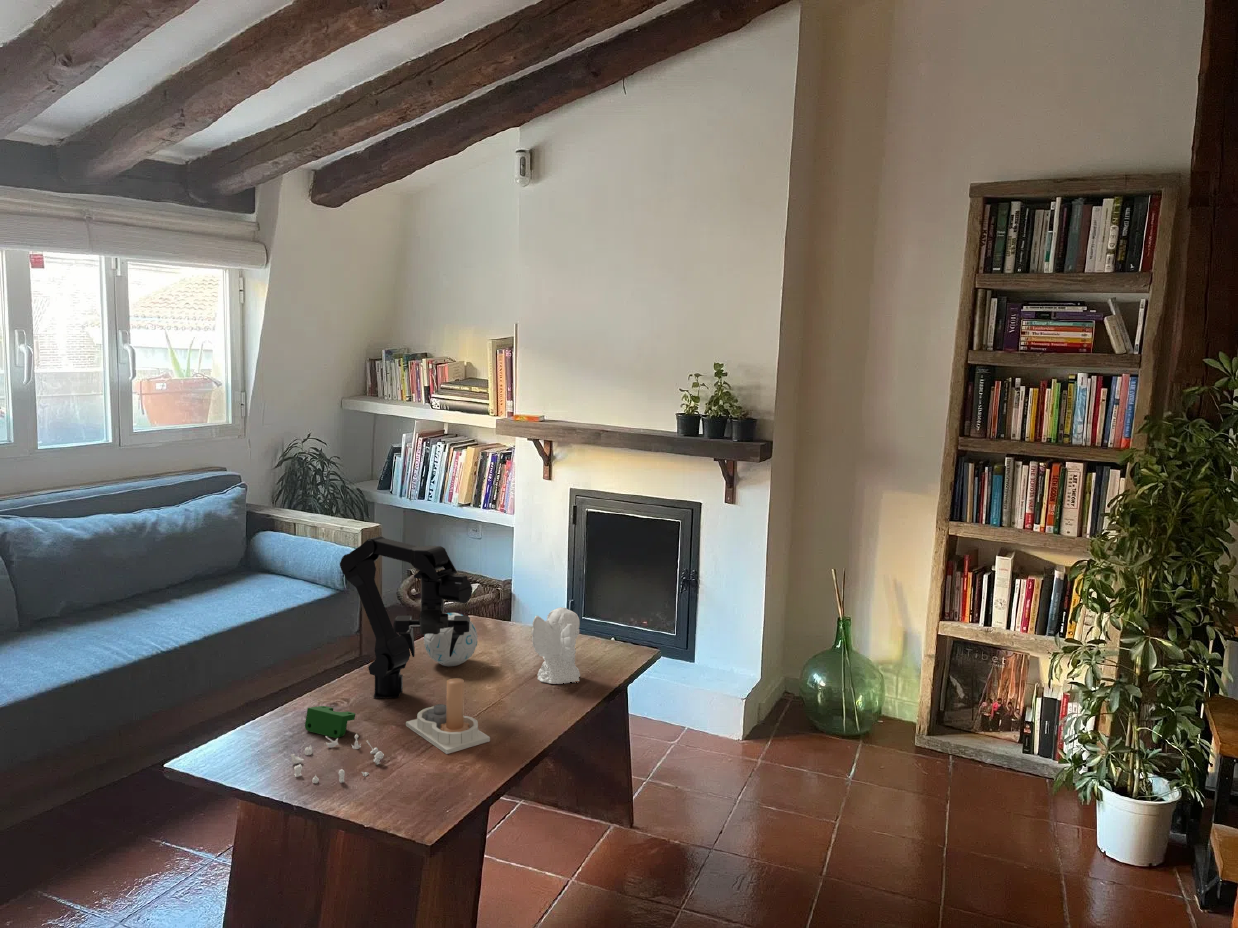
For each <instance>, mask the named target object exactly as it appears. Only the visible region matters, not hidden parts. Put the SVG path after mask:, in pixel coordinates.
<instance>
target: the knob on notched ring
mask: <svg viewBox="0 0 1238 928" xmlns="http://www.w3.org/2000/svg"><path fill="white" fill-rule="evenodd" d="M464 700H465V680H464V679H463V678H458V677H457V678H450V679H448V680H446V702H445V703H446V704H445V705H446V723H445V724H441V728H440V730H442V731H447V732H461V731H465V730H468V729H469V724H468V723H465V722H464V716H465V715H464V711H465V709H464V706H465V705H464V704H465V701H464Z"/></svg>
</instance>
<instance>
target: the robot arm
mask: <svg viewBox="0 0 1238 928" xmlns="http://www.w3.org/2000/svg"><path fill="white" fill-rule="evenodd" d="M381 556H382V557H385V558H389V559H393V560H398V561H400V562H405V563H408V564H410V565H411V566H412V567H413V568H414V569H416V570H418V572H417V573H415V574H414V575H413V578H414V579H420V613H419V619H412V615H397V616H396V617H395V618H394V620H393V625H392V622H391V619H390V617H389V614H388V612H387V609H386V607H385V604H384V601H383V599H382V596H381V594H380V591H379V589H378V587H377V583H376V579H375V578H376V571H377V568H376V567H377V566H376V563H375V562H376V561H378V559H379V558H380V557H381ZM339 566H340V570H341V572H342V574H343V575H344V577H345V579H346V581H348V582H349V583H350V584H351V585H352V586H354V587H355V589H356V591H357V594H358V596H359V598H360V601H361V603H362V607H363V609H364V612H365V614H366V617H367V619H368V621H369V624H370V626H371V630H372V633H373V634H374V637H375V644H374V655H375V658H376V659H374V660H373V662H371V663H370V664H369V665H368V667H367V668H368V672H369V675H371V676H374V693H373V696H372V697H373V699H395V698H396V699H398V698H400V695H401V694H402V692H403V688H404V687H403V683H404V682H403V681H404V680H403V677H404V676H403V674H401V670H403V669H406V667H407V666H406V665H407V663H408V662H409V660H410V657H411V656H412V658H415V656H416V655H415V653H416V651H415V649H416V648H415V640H414V639H415V638H414V637H415V636H414V628H419V633H420V634H421V635H424V634H439V633H440V629H444V628H448V627H453V632H452V639H451V645H450V652H449V657H451V656H452V653H453V650H454V647H455V644H456V641H457V639H458V638H459V636H460V635H464V632H469V629H470V621H471V617H470V616H469V615H463V616H455V617H454V620H448V614H445V601H448V602H455V603H459V604H466V603H467V604H468V602H469V601H470V600H471V597H472V594H473V586H472V583H471V582H470V581H469V580H468V575H465V574H457V573H458V572H457V569H456V567H455V566H454V564H453V561H452V560H451V559H450V557H449V554H448V552H447V551H446V548H445V547H443V546H441V545H422V546H420V545H419V546H417V545H413V544H409V543H405V542H401V541H397V540H394V539H388V538H386V537H383V536H382V535H381V536H374V537H371V538H368V539H367V540H365V541H364V542H363V543H362V544H361V545H359V546H357V547H356V548H355V549H353V550H352V551H350V552H349V553H347V554H344V555H343V556H342V557H341V560H340V563H339Z"/></svg>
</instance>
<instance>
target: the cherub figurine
mask: <svg viewBox="0 0 1238 928" xmlns="http://www.w3.org/2000/svg"><path fill="white" fill-rule="evenodd" d="M580 625H581V622H580V618H579V616H578V614H577V613H576V612H574V611H573V610H570V609H568V608H567V607H563V606H562V607H561V606H560V607H557V608H555V609H552V610H551V611H549V613H548V614H547V616H546V620H544V619H543V618H542V617H540V616H539V615H535V617H534V618H533V621H532V629H531V635H532V638H531V642H532V644H531V645H532V647H533V648H534V649H533V650H534V652H535V653H536V654H537V655H538V656H539V657H542V659H543V660H544V661H543V662H542V664H541V667H540V668H539V670H538V672H537V675H536V676H537V680H538V681H539V682H541V683H547V684H554V685H556V684H557V685H561V684H563V683H564V684H571V683H570V682H572V683H576V682H575V681H579V682H580V678H581V673H580V669H579V668H578V667H577V666H576V652H577V650H576V648H575V647H576V645H577V642H576V639H578V637H579V635H580ZM579 677H580V678H579Z"/></svg>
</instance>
